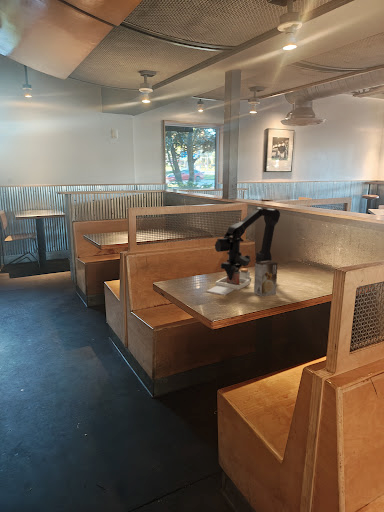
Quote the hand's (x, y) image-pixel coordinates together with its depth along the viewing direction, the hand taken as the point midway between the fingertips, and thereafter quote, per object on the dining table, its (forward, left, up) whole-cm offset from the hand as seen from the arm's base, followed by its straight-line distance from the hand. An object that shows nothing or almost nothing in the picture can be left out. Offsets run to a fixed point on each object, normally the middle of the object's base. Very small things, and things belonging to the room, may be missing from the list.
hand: (233, 278), depth 193 cm
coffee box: (-20, +5, -3) cm, 21 cm away
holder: (0, -4, -3) cm, 5 cm away
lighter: (0, 0, -3) cm, 3 cm away
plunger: (-1, -12, -2) cm, 12 cm away
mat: (0, +14, -3) cm, 14 cm away
